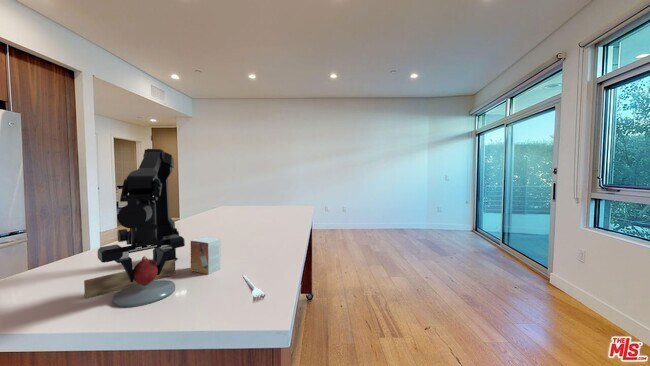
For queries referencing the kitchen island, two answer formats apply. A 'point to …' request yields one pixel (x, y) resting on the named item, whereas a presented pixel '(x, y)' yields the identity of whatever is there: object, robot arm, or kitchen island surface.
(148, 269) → the onion
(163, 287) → the slate plate
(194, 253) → the small box
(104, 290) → the walnut screen
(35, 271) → the kitchen island surface
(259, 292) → the fork
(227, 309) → the kitchen island surface
